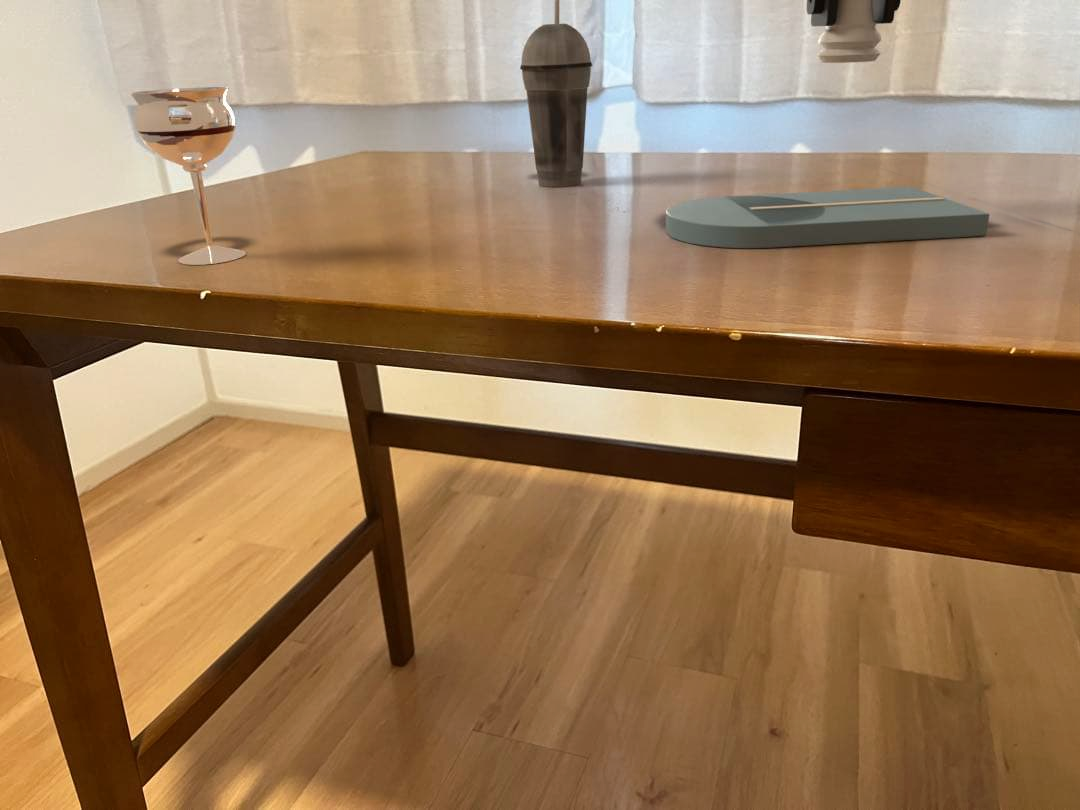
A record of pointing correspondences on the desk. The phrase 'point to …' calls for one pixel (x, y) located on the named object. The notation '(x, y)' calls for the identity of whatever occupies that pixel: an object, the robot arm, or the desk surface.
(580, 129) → the beverage cup
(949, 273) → the desk surface
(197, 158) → the wineglass
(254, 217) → the desk surface
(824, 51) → the rook chess piece
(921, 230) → the board
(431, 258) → the desk surface
